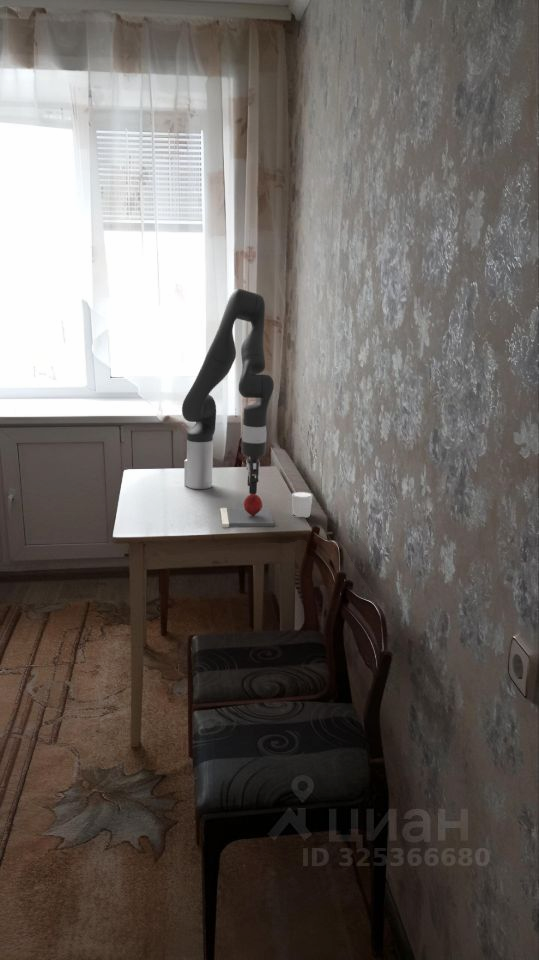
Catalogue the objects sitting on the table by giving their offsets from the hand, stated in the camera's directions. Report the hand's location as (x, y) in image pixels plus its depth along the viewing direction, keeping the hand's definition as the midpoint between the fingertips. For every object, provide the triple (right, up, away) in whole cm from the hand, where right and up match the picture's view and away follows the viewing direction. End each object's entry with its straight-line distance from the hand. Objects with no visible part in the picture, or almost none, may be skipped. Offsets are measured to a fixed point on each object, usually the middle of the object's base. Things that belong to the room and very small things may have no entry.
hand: (251, 489), depth 234 cm
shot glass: (+16, -8, +8) cm, 20 cm away
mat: (-2, -9, +2) cm, 10 cm away
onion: (0, -8, +2) cm, 9 cm away
